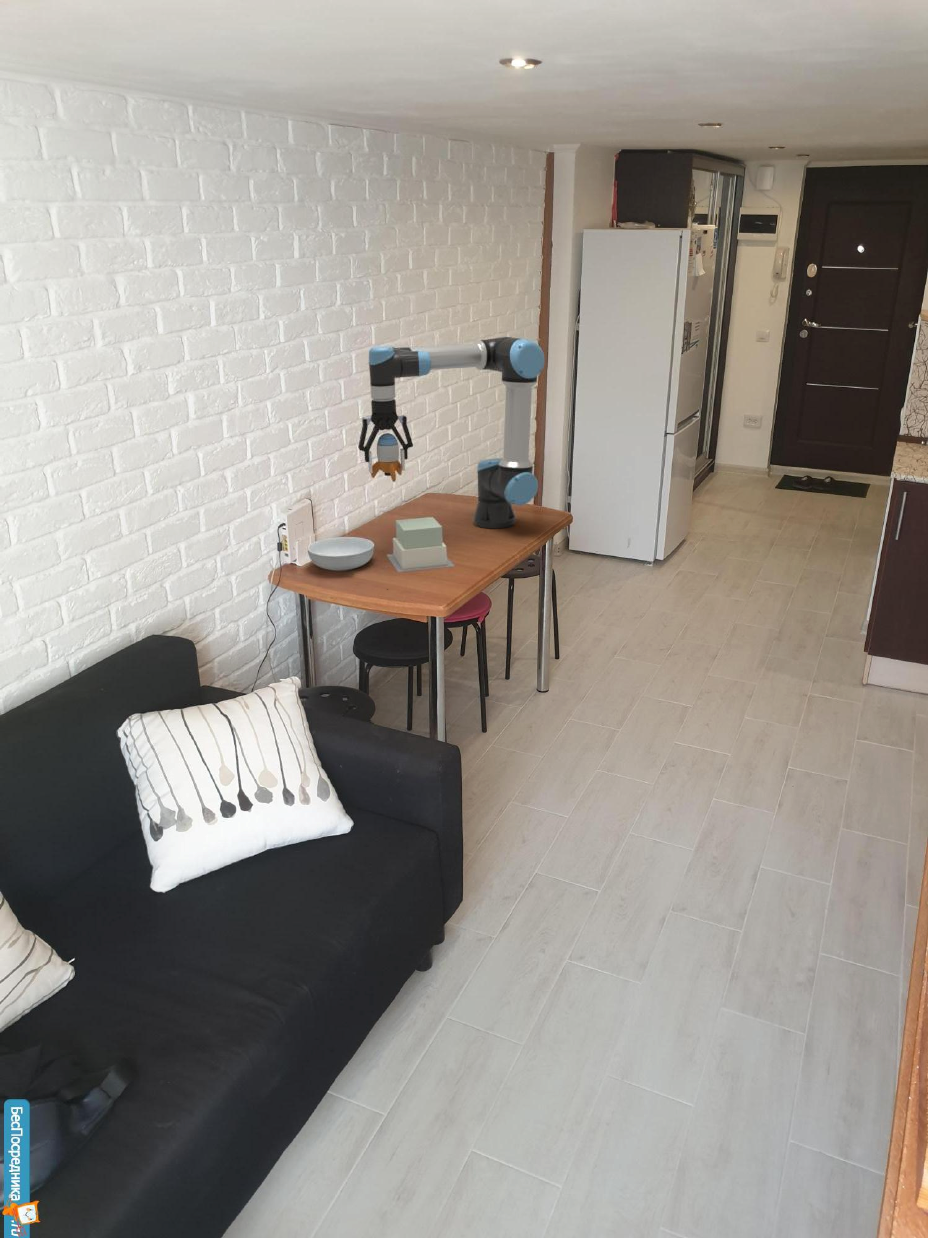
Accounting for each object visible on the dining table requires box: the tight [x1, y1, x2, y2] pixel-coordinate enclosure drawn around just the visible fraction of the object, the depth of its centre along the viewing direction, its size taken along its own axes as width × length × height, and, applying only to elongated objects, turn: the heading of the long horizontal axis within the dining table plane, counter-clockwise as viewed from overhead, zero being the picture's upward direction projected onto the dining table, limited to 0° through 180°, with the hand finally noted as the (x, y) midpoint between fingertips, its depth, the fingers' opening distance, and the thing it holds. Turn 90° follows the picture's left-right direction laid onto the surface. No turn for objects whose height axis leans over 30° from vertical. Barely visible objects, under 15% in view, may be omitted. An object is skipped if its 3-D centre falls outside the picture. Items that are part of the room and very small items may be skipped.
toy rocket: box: [370, 432, 403, 483], centre depth 297 cm, size 10×11×15 cm
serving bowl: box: [307, 536, 375, 572], centre depth 298 cm, size 21×21×7 cm
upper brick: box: [395, 516, 443, 549], centre depth 297 cm, size 12×12×6 cm
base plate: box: [386, 553, 455, 573], centre depth 300 cm, size 18×18×1 cm
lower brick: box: [392, 537, 448, 569], centre depth 299 cm, size 14×14×6 cm
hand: (386, 470), depth 299 cm, fingers closed on toy rocket, 10 cm apart
